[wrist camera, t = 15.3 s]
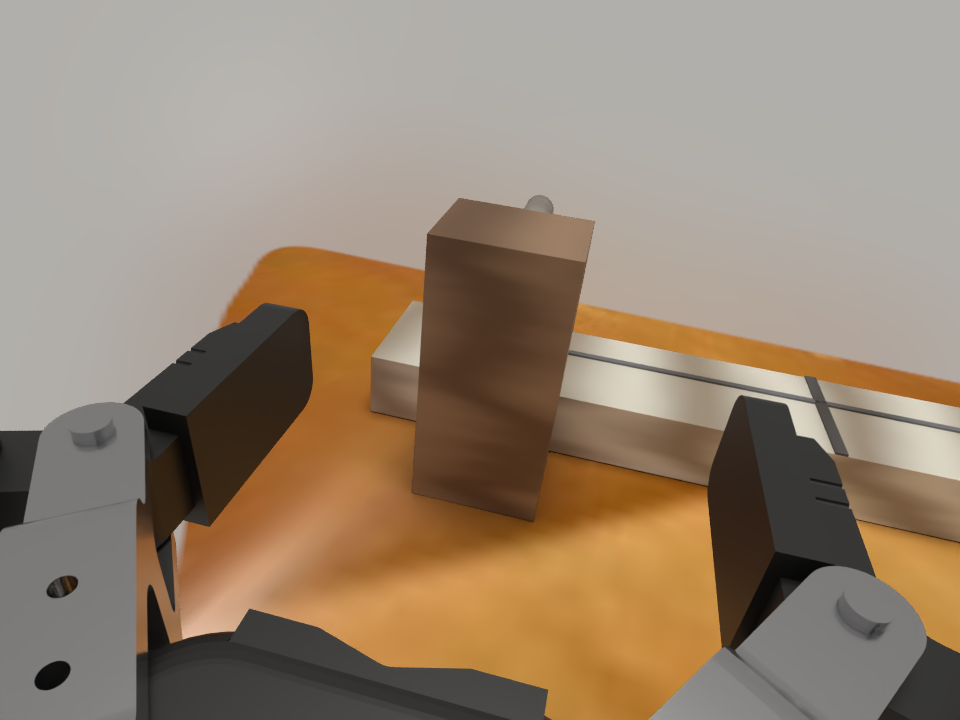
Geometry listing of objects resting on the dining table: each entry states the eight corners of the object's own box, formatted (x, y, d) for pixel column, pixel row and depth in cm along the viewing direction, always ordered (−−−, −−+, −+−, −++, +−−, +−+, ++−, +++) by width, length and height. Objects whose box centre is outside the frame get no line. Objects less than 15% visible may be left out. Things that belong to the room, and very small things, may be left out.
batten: (1001, 472, 31) (1036, 421, 29) (1070, 566, 26) (1118, 511, 24) (410, 349, 35) (412, 298, 33) (370, 410, 30) (371, 354, 28)
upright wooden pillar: (560, 397, 33) (603, 184, 27) (533, 522, 25) (585, 262, 19) (465, 377, 33) (488, 165, 28) (411, 492, 26) (427, 233, 20)
